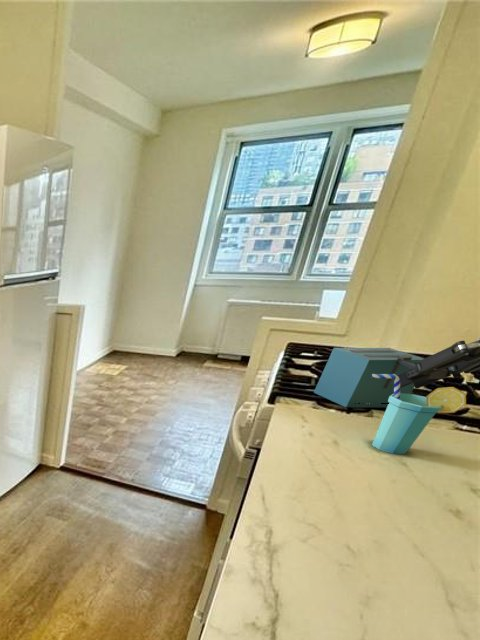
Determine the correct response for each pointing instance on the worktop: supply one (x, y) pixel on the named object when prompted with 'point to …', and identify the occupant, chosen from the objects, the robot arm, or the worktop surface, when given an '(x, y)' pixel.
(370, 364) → the toaster
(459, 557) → the worktop surface
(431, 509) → the worktop surface
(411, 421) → the cup
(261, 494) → the worktop surface
